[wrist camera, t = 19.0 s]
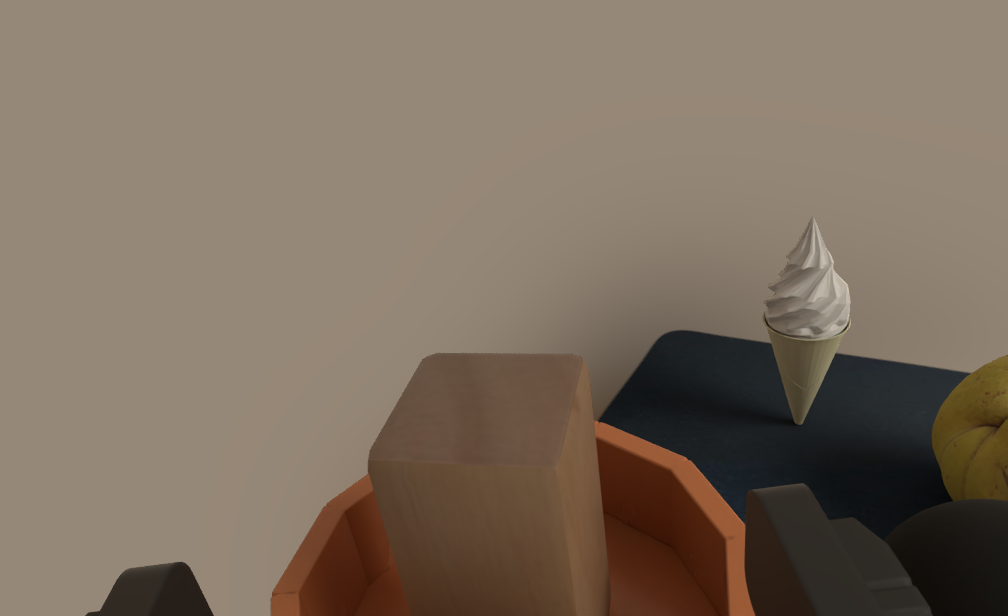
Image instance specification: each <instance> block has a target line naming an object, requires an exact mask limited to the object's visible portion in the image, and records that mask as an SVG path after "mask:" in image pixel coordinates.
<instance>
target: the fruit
mask: <svg viewBox="0 0 1008 616" xmlns="http://www.w3.org/2000/svg"><path fill="white" fill-rule="evenodd" d="M932 446H933V450H934V453H935V456H936V459H937V461H938V464H939V466H940V469H941V473H942V478H943V483H944V485H945V487H946V489H947V491H948V493H949V495H950V497H951V498H952V500H953V501H958V500H966V499H997V500H1005V501H1008V355H1006V356H1003V357H1000V358H998V359H996V360H994V361H992V362H990V363H988V364H986V365H984V366H982V367H981V368H979V369H978V370H977V371H975V372H973V373H972V374H970V375H969V376H967V377H966V378H965V379H964V380H963V381H962V382H961V383H960V384H959V385H958V386H957V387H956V388H955V389H954V390H953V391H952V393H951V394H950V395H949V396H948V398H947V399H946V400H945V402H944V403H943V404H942V406H941V408H940V410H939V412H938V414H937V417H936V419H935V422H934V425H933V428H932Z"/></svg>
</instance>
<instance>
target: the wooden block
mask: <svg viewBox="0 0 1008 616" xmlns="http://www.w3.org/2000/svg"><path fill="white" fill-rule="evenodd" d="M368 473H369V477H370V480H371V483H372V487H373V490H374V493H375V497H376V500H377V504H378V507H379V510H380V514H381V517H382V521H383V524H384V527H385V531H386V534H387V537H388V541H389V544H390V548H391V551H392V554H393V558H394V561H395V564H396V568H397V571H398V575H399V578H400V581H401V585H402V588H403V591H404V595H405V598H406V602H407V605H408V608H409V612H410V615H411V616H609V607H610V599H611V590H610V579H609V569H608V559H607V549H606V538H605V528H604V518H603V508H602V497H601V487H600V477H599V466H598V456H597V446H596V436H595V425H594V415H593V405H592V395H591V384H590V374H589V370H588V368H587V367H586V364H585V362H584V360H583V358H582V357H580V356H576V355H573V354H493V353H488V354H487V353H485V354H484V353H436V354H433V355H430V356H427V357H426V358H424V359H422V361H421V363H420V365H419V366H418V368H417V370H416V371H415V373H414V375H413V377H412V378H411V380H410V382H409V384H408V385H407V387H406V389H405V390H404V392H403V394H402V396H401V397H400V399H399V401H398V403H397V404H396V406H395V408H394V410H393V411H392V413H391V415H390V416H389V418H388V420H387V422H386V423H385V425H384V427H383V428H382V430H381V432H380V434H379V436H378V437H377V439H376V441H375V442H374V444H373V446H372V447H371V449H370V453H369V458H368Z"/></svg>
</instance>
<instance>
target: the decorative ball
mask: <svg viewBox="0 0 1008 616" xmlns="http://www.w3.org/2000/svg"><path fill="white" fill-rule="evenodd" d="M884 542H886V543H887V544H888V545H889V547H890V548H891V550H892V551H893V553H894V554H895V556H896V557H897V559H898V560H899V562H900V563H901V565H902V566H903V568H904V569H905V571H906V572H907V574H908V575H909V577H910V578H911V582H912V585H913V586H916V587H917V589H918V590H919V592H920V593H921V595H922V596H923V598H924V599H925V601H926V602H927V604H928V605H929V607H930V608H931V613H932V615H933V616H1008V501H1005V500H997V499H966V500H958V501H952V502H947V503H943V504H940V505H936V506H933V507H931V508H928V509H926V510H923V511H921V512H919V513H917V514H915V515H913V516H912V517H910V518H908V519H907V520H905V521H904V522H903V523H901V524H900V525H899V526H897V527H896V528H895V529H894V530H893V531H892V532H891V533H890V534H889V535H888V536H887V537H886V538H885V539H884Z"/></svg>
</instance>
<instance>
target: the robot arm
mask: <svg viewBox="0 0 1008 616" xmlns="http://www.w3.org/2000/svg"><path fill="white" fill-rule="evenodd" d="M744 569H745V578H746V584H747V589H748V594H749V598H750V601H751V605H752V608H753V611H754V613H755V616H933V615H932V613H931V608H930V607H929V605H928V604H927V602H926V601H925V599H924V598H923V596H922V595H921V593H920V592H919V590H918V589H917V587H916V586H913V585H912V582H911V578H910V577H909V575H908V574H907V572H906V571H905V569H904V568H903V566H902V565H901V563H900V562H899V560H898V559H897V557H896V556H895V554H894V553H893V551H892V550H891V548H890V547H889V545H888V544H887V543H886V542H884V541H883V540H882V539H880V538H879V537H878V536H877V535H875V534H874V533H873V532H871V531H870V530H869V529H868V528H866V527H865V526H864V525H862V524H861V523H860V522H859V521H857V520H856V519H855V518H853V517H850V518H842V519H834V520H828V518H827V516H826V515H825V513H824V511H823V510H822V508H821V506H820V505H819V503H818V501H817V499H816V498H815V496H814V494H813V493H812V491H811V490H810V489H809V487H808V486H807V485H805V484H803V483H801V484H793V485H785V486H777V487H770V488H762V489H754V490H749V491H748V493H747V497H746V522H745V558H744ZM86 616H214V615H213V613H212V611H211V609H210V608H209V605H208V603H207V601H206V599H205V597H204V595H203V593H202V591H201V589H200V587H199V585H198V583H197V581H196V579H195V577H194V575H193V573H192V571H191V569H190V567H189V566H188V565H187V564H185V563H183V562H176V563H168V564H160V565H153V566H146V567H137V568H130V569H127V570H125V571H124V572H123V573H122V574H121V575H120V576H119V578H118V579H117V581H116V583H115V584H114V586H113V588H112V590H111V592H110V594H109V595H108V597H107V599H106V601H105V603H104V605H103V606H102V608H101V610H100V611H98V612H89V613H88V614H87V615H86Z"/></svg>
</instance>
